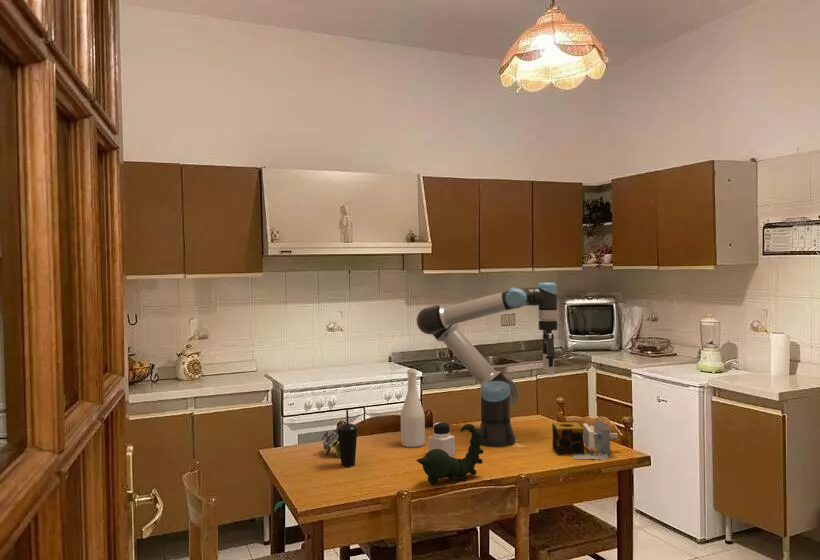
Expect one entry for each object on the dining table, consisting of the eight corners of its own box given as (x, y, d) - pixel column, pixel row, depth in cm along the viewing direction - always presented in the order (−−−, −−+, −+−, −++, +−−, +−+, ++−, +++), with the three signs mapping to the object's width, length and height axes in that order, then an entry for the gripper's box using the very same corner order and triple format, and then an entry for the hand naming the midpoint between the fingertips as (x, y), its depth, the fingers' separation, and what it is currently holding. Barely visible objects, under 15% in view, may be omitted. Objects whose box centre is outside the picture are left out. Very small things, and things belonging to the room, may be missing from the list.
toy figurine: (470, 475, 218) (407, 482, 206) (473, 420, 219) (411, 423, 206) (487, 483, 210) (422, 490, 198) (490, 426, 211) (426, 429, 198)
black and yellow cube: (584, 455, 234) (584, 428, 234) (557, 455, 235) (557, 428, 234) (578, 447, 244) (578, 421, 244) (552, 447, 245) (551, 422, 245)
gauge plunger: (591, 453, 229) (590, 434, 229) (582, 441, 245) (582, 423, 245) (623, 453, 228) (623, 434, 228) (613, 441, 244) (613, 423, 244)
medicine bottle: (455, 455, 237) (454, 423, 237) (442, 459, 232) (442, 426, 232) (440, 451, 242) (440, 420, 242) (428, 455, 237) (427, 423, 236)
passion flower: (327, 468, 241) (317, 439, 246) (354, 459, 245) (344, 431, 250) (330, 459, 232) (320, 428, 237) (358, 449, 236) (347, 420, 241)
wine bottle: (429, 445, 251) (428, 369, 250) (409, 449, 245) (408, 372, 245) (416, 440, 259) (414, 366, 258) (396, 443, 253) (395, 369, 253)
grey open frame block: (574, 459, 229) (573, 432, 229) (566, 446, 246) (566, 420, 246) (612, 460, 228) (612, 432, 228) (602, 446, 245) (601, 420, 245)
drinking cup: (342, 469, 222) (341, 412, 221) (334, 463, 229) (333, 408, 228) (362, 466, 225) (361, 410, 225) (353, 460, 232) (353, 406, 232)
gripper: (561, 322, 246) (562, 377, 246) (553, 317, 271) (553, 367, 271) (542, 322, 247) (542, 377, 247) (535, 317, 272) (536, 367, 272)
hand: (548, 372), depth 259 cm, fingers open, 13 cm apart
